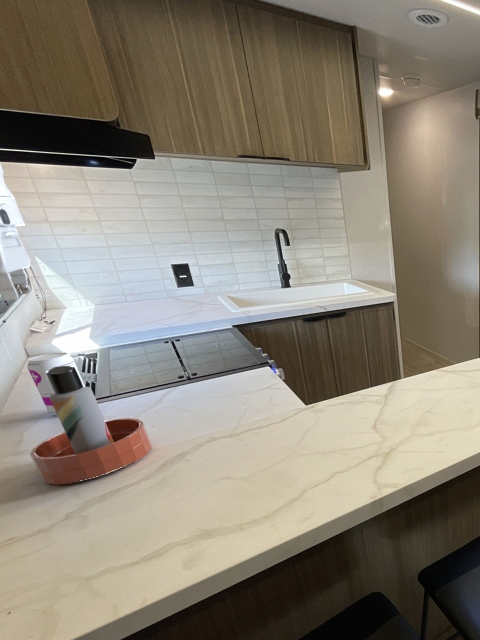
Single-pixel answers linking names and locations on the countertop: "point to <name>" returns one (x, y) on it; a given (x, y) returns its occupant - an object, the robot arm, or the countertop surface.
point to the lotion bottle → (78, 410)
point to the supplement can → (38, 373)
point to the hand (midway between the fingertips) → (18, 296)
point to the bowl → (91, 453)
